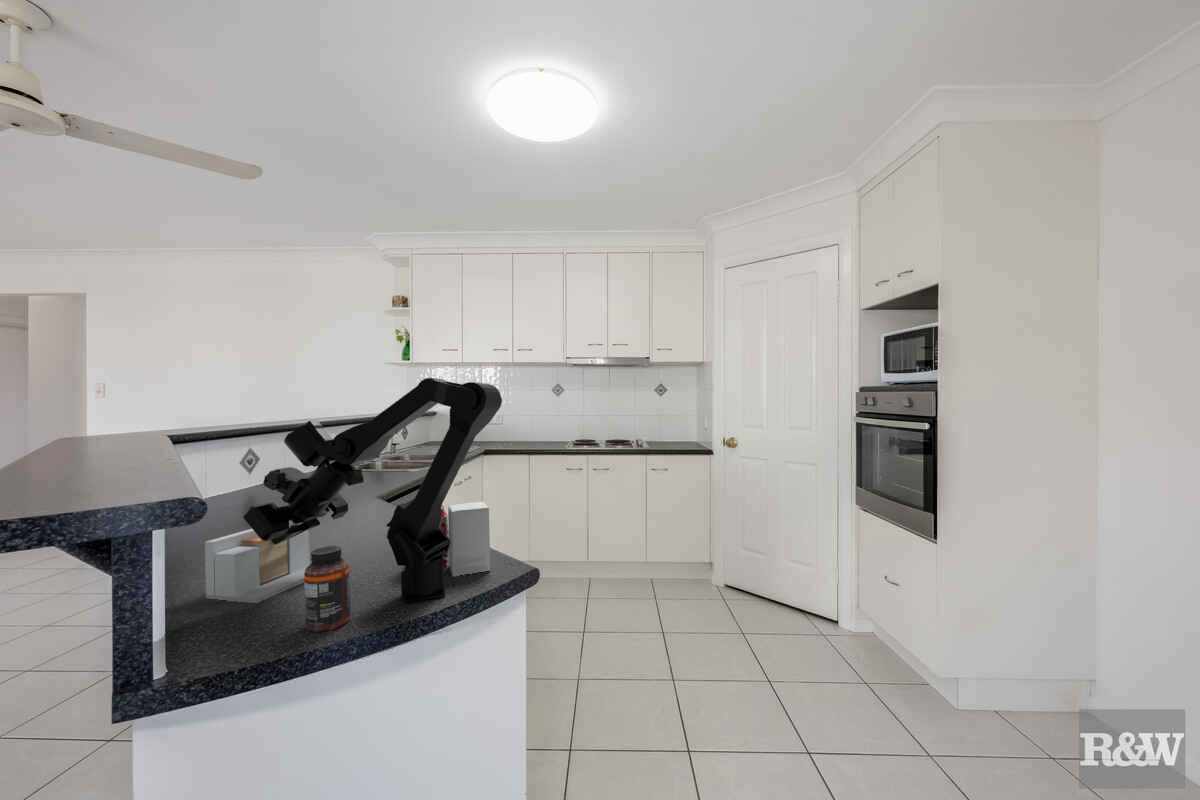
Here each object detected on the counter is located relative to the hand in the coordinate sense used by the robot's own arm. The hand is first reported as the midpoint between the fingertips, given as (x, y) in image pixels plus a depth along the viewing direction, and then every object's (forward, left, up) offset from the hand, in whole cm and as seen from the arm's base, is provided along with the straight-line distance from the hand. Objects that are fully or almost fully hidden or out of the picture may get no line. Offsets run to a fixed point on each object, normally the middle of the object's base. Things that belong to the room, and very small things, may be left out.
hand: (274, 542), depth 91 cm
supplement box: (-34, +8, -8) cm, 36 cm away
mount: (+1, -1, -8) cm, 8 cm away
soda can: (-27, +3, -8) cm, 29 cm away
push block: (+2, -1, -7) cm, 7 cm away
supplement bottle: (-11, +24, -8) cm, 28 cm away
